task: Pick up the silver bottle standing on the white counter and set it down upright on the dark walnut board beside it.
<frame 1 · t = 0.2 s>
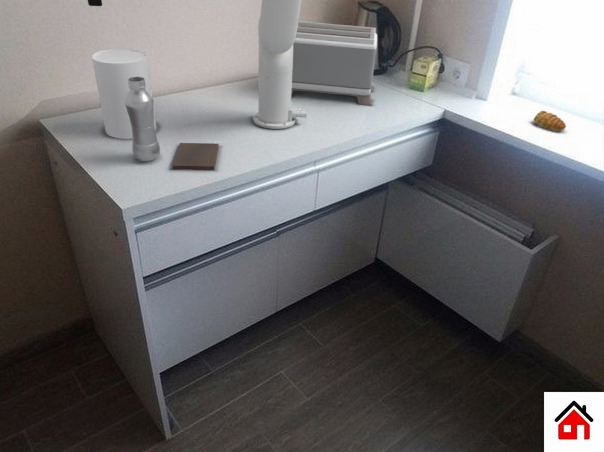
hand: (101, 2, 126), 31 cm above the countertop, tool pointing down, fingers open, 9 cm apart
walnut board: (196, 157, 125), on the countertop
pastry: (547, 126, 156), on the countertop
toaster: (322, 91, 172), on the countertop
silver bottle: (147, 159, 124), on the countertop
canister: (131, 129, 138), on the countertop
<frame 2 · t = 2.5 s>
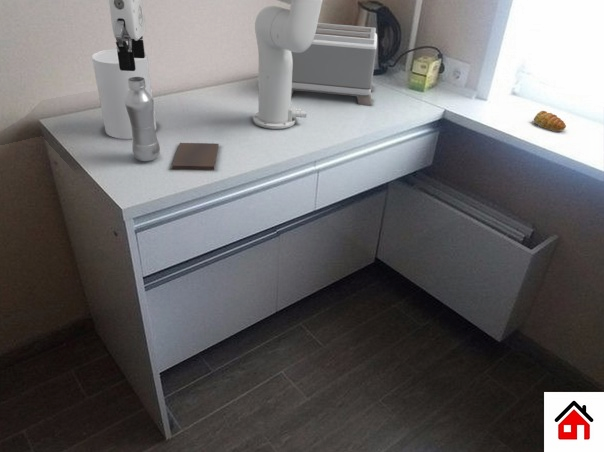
hand: (133, 63, 110), 24 cm above the countertop, tool pointing down, fingers open, 9 cm apart
nothing on the countertop moved.
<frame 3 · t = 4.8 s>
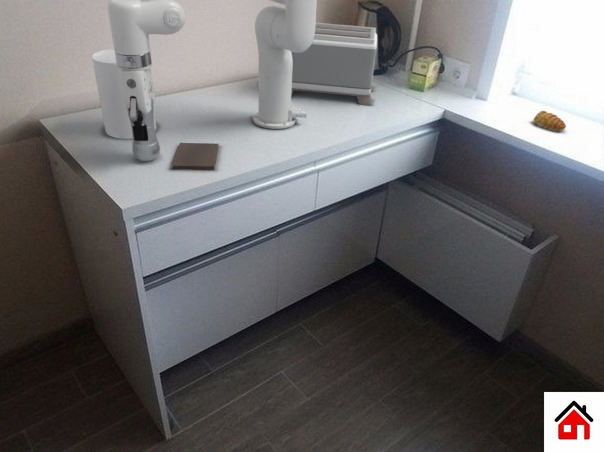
hand: (144, 134, 120), 6 cm above the countertop, tool pointing down, fingers closed on silver bottle, 5 cm apart
silver bottle: (147, 159, 124), on the countertop, touching gripper
everything else where it was.
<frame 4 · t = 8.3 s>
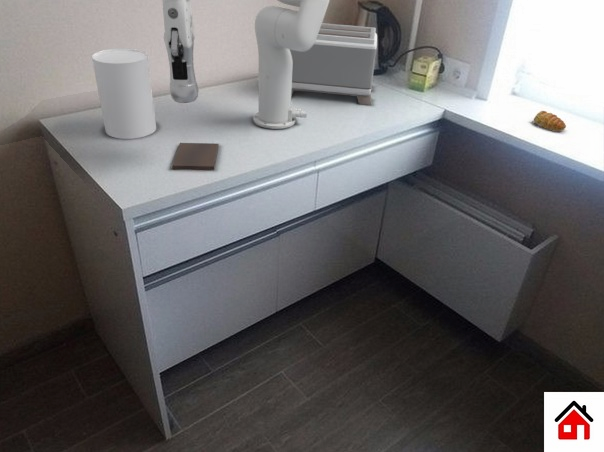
hand: (182, 74, 113), 21 cm above the countertop, tool pointing down, fingers closed on silver bottle, 5 cm apart
silver bottle: (185, 102, 117), point 15 cm above the countertop, touching gripper
everything else where it was.
when the fingers open (7 cm above the countertop, at t = 11.9 s): silver bottle stays where it is, resting on walnut board.
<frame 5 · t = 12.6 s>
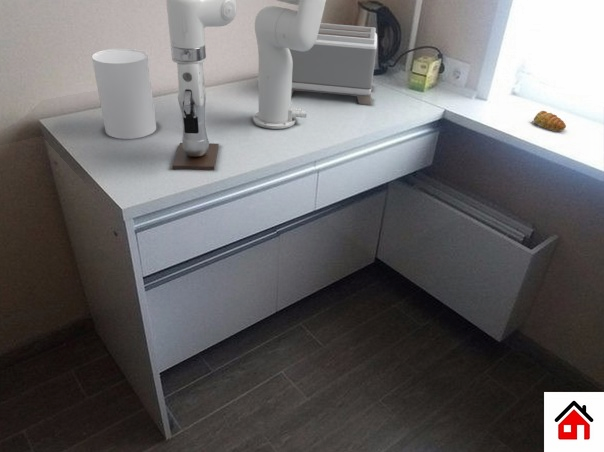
hand: (194, 124, 120), 9 cm above the countertop, tool pointing down, fingers open, 9 cm apart
silver bottle: (196, 154, 125), point 1 cm above the countertop, touching walnut board
everything else where it was.
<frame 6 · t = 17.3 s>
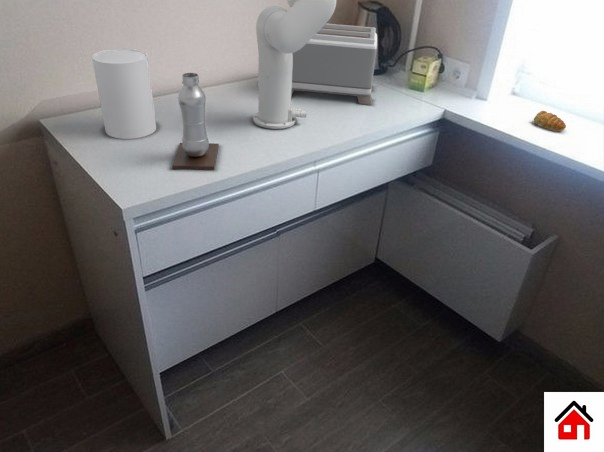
nothing on the countertop moved.
at the end: silver bottle inside the target area on the walnut board (0.0 cm from its centre), point 0.8 cm above the walnut board's base; silver bottle tilted 0°; the gripper is holding nothing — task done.
